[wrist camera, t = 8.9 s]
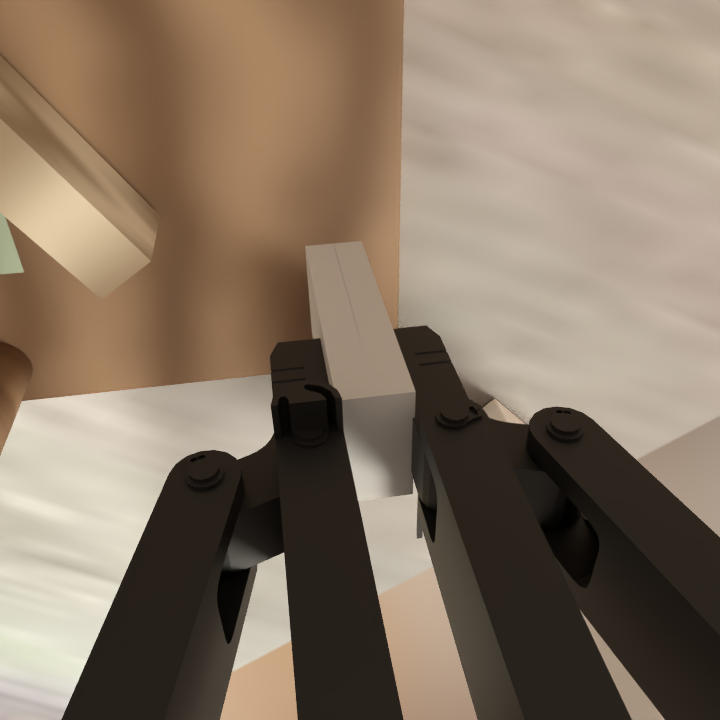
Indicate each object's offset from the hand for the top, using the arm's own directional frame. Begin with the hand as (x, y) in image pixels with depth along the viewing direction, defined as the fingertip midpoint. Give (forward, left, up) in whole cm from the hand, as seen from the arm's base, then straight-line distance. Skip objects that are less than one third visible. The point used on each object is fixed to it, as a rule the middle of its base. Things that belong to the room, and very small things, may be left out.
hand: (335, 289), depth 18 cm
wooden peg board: (-6, 0, -13) cm, 14 cm away
